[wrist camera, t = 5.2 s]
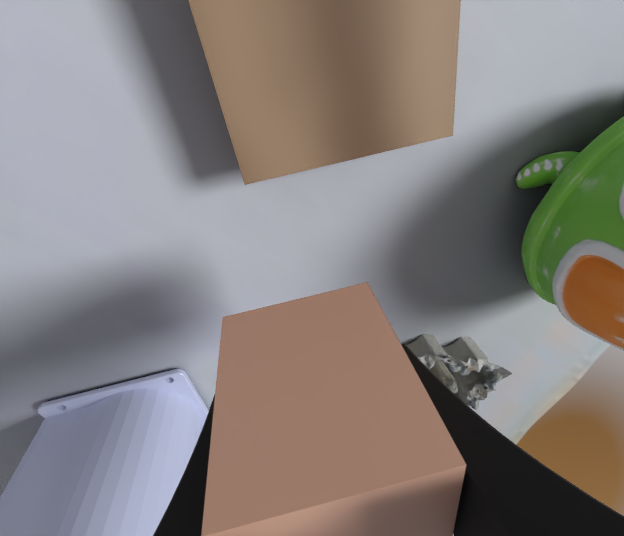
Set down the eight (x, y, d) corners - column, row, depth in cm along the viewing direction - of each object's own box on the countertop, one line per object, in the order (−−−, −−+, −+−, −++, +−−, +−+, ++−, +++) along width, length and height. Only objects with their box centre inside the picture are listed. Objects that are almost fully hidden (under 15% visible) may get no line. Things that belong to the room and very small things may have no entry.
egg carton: (333, 389, 26) (345, 439, 23) (367, 319, 23) (388, 364, 19) (442, 396, 29) (468, 441, 26) (488, 335, 26) (525, 377, 22)
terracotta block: (260, 404, 14) (268, 604, 9) (222, 317, 11) (201, 536, 6) (376, 375, 14) (449, 553, 9) (367, 282, 11) (466, 464, 6)
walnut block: (245, 165, 16) (244, 184, 13) (166, -100, 11) (142, -149, 8) (421, 124, 16) (452, 135, 14) (422, -150, 11) (472, -212, 9)
